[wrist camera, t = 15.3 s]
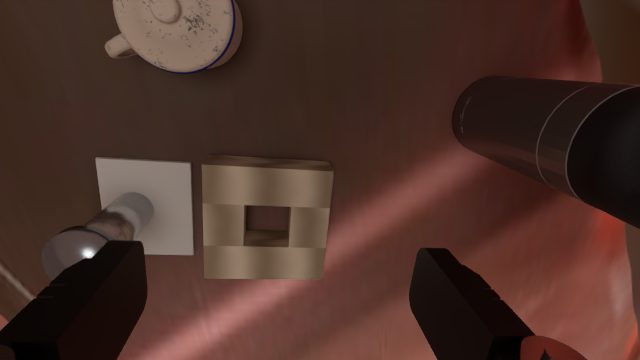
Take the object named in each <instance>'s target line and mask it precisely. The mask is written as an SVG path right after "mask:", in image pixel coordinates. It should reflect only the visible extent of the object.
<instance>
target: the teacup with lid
mask: <svg viewBox="0 0 640 360" xmlns="http://www.w3.org/2000/svg"><path fill="white" fill-rule="evenodd" d="M113 8H114V14H115V18H116V21H117V24H118V26H119V29H120V31H121V34H119V35H117V36H115V37H113V38H112V39H110V40H109V41H108V42H107V43H106V44H105V49H106V51H107V53H108V54H109V56H110V57H112V58H125V57H130V56H133V55H137V54H138V55H139V56H140V57H141V58H143V59H144V60H145V61H146V62H148V63H150V64H151V65H153V66H155V67H157V68H159V69H161V70H164V71H167V72H172V73H178V74H190V73H196V72H199V71H202V70H205V69H210V68H214V67H217V66H220V65H222V64H224V63H225V62H227V61H228V60H229V59H230V58H231V57H232V56H233V55H234V54H235V52H236V51H237V49H238V47H239V45H240V42H241V38H242V32H243V24H242V17H241V13H240V10H239V8H238V5H237V3H236V1H235V0H113Z"/></svg>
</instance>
